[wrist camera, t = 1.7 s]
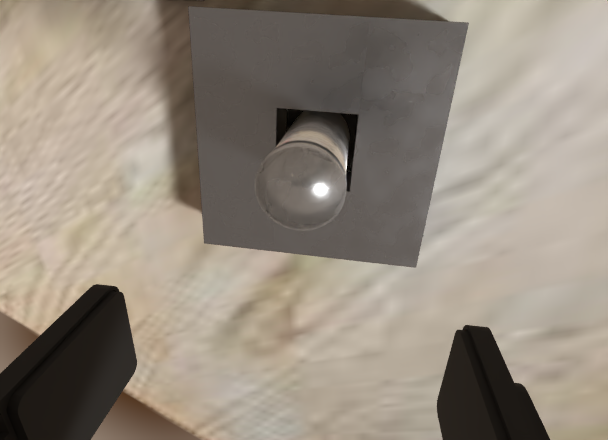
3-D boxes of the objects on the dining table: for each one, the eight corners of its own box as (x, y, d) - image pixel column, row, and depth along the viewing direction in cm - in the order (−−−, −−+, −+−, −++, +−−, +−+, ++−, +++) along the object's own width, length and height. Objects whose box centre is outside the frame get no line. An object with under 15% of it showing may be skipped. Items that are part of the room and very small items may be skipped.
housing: (211, 9, 26) (188, 6, 23) (453, 23, 25) (468, 22, 21) (220, 220, 34) (204, 243, 30) (409, 241, 32) (415, 267, 29)
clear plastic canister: (291, 102, 29) (254, 140, 19) (354, 107, 28) (351, 149, 18) (288, 163, 31) (254, 225, 21) (347, 168, 30) (341, 235, 20)
